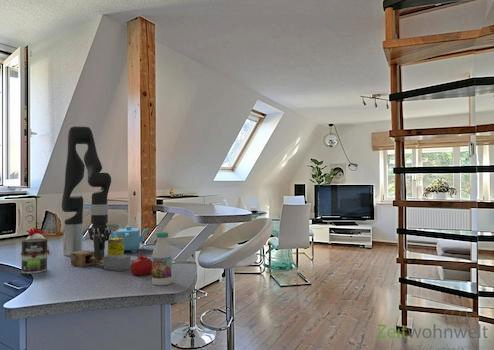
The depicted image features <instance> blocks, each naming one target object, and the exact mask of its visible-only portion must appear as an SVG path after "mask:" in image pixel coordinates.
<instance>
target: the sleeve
mask: <svg viewBox="0 0 494 350" xmlns="http://www.w3.org/2000/svg"><path fill="white" fill-rule="evenodd" d="M103 258H104V265H103V270H105V271H106V270H107V271H114V272H124V271H127V270H131V269H130V266H131V263H132V262H131V255H125V254H124V255H116V254H113V255H109V256H108V255H106V256H105V255H104V257H103Z"/></svg>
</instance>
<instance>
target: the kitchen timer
mask: <svg viewBox="0 0 494 350" xmlns="http://www.w3.org/2000/svg"><path fill="white" fill-rule="evenodd" d="M27 231H28V235H29V236H27V238H26V239H25V240H28V239H46V238H45V237H44V236H43V235H42V233H43V230H41V229H39V228H38V227H33V228H30V231H29V230H27ZM47 253H48V254H50V246H49V244H48V242H47ZM20 255H22V249H21V251H20Z"/></svg>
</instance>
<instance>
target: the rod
mask: <svg viewBox="0 0 494 350" xmlns="http://www.w3.org/2000/svg"><path fill="white" fill-rule="evenodd" d="M102 239H103V237H102ZM93 251H94V257H91V258H90V260H89V261H90V263H95V264H96V265H103V266H104V256H105V249H104V250H100V238H99V237H94V242H93ZM95 264H94V265H95Z"/></svg>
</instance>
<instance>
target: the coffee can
mask: <svg viewBox="0 0 494 350" xmlns="http://www.w3.org/2000/svg"><path fill="white" fill-rule="evenodd" d="M48 241H49V240H48V239H47V238H45V239H28V240H26V239H24V240H23V239H22V240H21V250H22V256H21V266H20V267H21V273H22V274H25V275H26V274H39V273H42V272H46V271H47V270H48V254H47V243H48Z"/></svg>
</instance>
